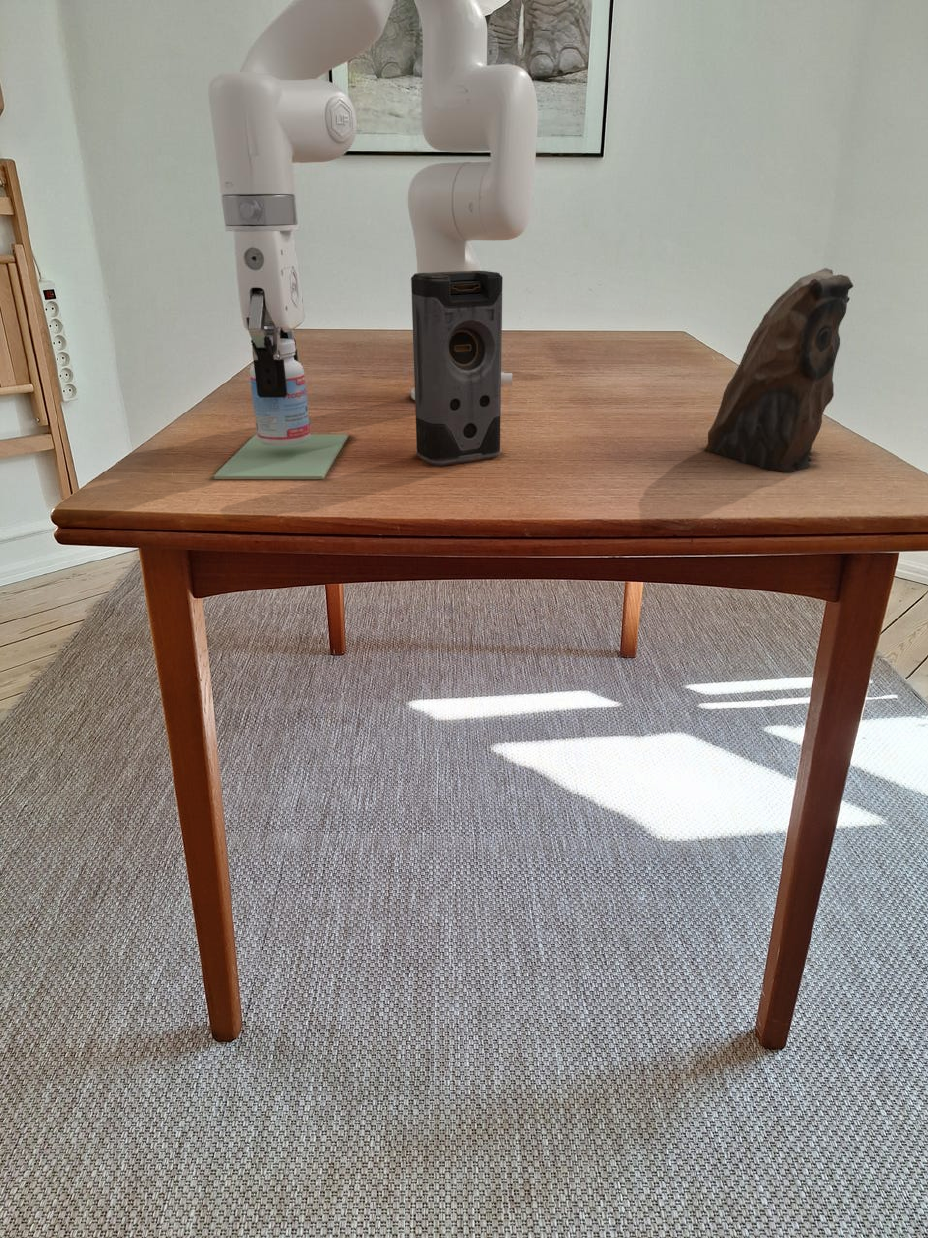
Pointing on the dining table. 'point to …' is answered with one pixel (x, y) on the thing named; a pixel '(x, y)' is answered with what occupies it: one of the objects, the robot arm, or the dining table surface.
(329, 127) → the robot arm
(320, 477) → the side mat
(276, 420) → the pill bottle
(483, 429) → the electronic device
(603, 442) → the dining table surface
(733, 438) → the owl
